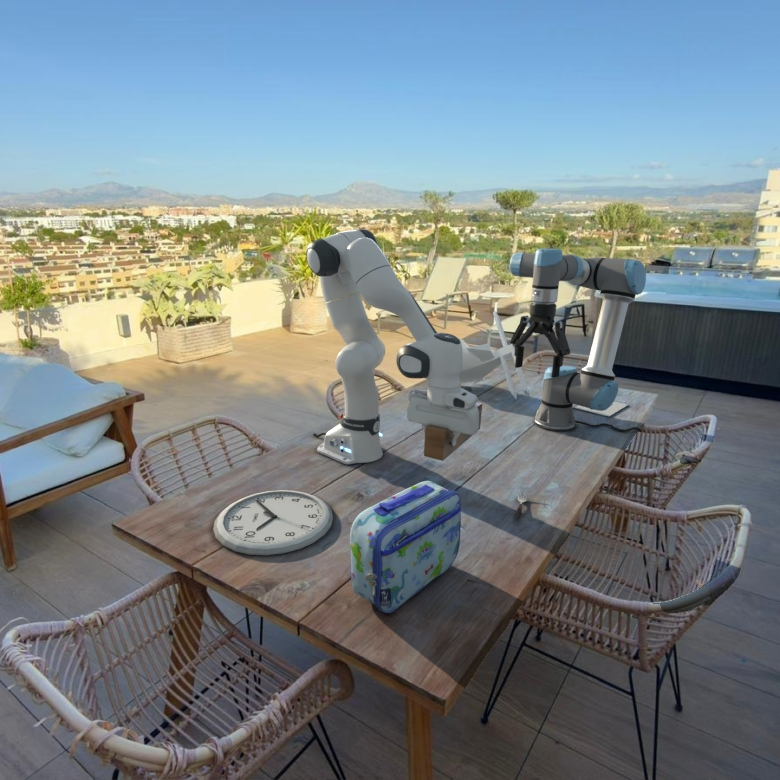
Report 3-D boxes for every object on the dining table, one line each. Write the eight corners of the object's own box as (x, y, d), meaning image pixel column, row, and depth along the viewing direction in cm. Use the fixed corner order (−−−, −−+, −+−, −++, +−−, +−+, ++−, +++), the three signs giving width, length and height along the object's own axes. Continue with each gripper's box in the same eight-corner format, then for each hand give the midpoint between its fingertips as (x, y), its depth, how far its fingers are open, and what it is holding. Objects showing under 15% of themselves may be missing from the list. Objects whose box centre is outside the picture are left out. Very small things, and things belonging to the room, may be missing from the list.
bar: (462, 425, 166) (464, 399, 163) (480, 428, 163) (482, 403, 160) (423, 455, 143) (425, 427, 140) (442, 461, 140) (444, 431, 138)
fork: (511, 521, 136) (512, 514, 136) (519, 493, 150) (519, 487, 150) (521, 523, 135) (522, 516, 135) (528, 495, 150) (528, 489, 149)
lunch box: (379, 627, 99) (381, 531, 93) (343, 599, 107) (342, 508, 100) (464, 568, 117) (470, 484, 111) (428, 548, 124) (431, 467, 118)
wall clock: (331, 546, 121) (198, 551, 119) (331, 552, 122) (199, 557, 119) (333, 485, 150) (227, 488, 147) (334, 490, 150) (227, 493, 148)
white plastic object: (461, 429, 252) (437, 405, 227) (444, 352, 274) (420, 323, 250) (535, 404, 240) (518, 377, 215) (510, 326, 262) (492, 293, 237)
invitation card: (608, 416, 214) (573, 407, 224) (608, 416, 214) (573, 408, 224) (628, 404, 229) (594, 396, 238) (628, 405, 229) (594, 397, 238)
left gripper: (403, 390, 142) (402, 437, 146) (474, 404, 132) (470, 454, 137) (414, 385, 147) (412, 430, 151) (483, 398, 138) (479, 446, 142)
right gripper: (502, 298, 162) (497, 365, 168) (573, 309, 143) (564, 383, 150) (517, 297, 166) (512, 361, 173) (588, 306, 148) (579, 379, 154)
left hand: (440, 442), depth 144 cm, fingers closed on bar, 6 cm apart
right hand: (536, 371), depth 161 cm, fingers open, 13 cm apart
